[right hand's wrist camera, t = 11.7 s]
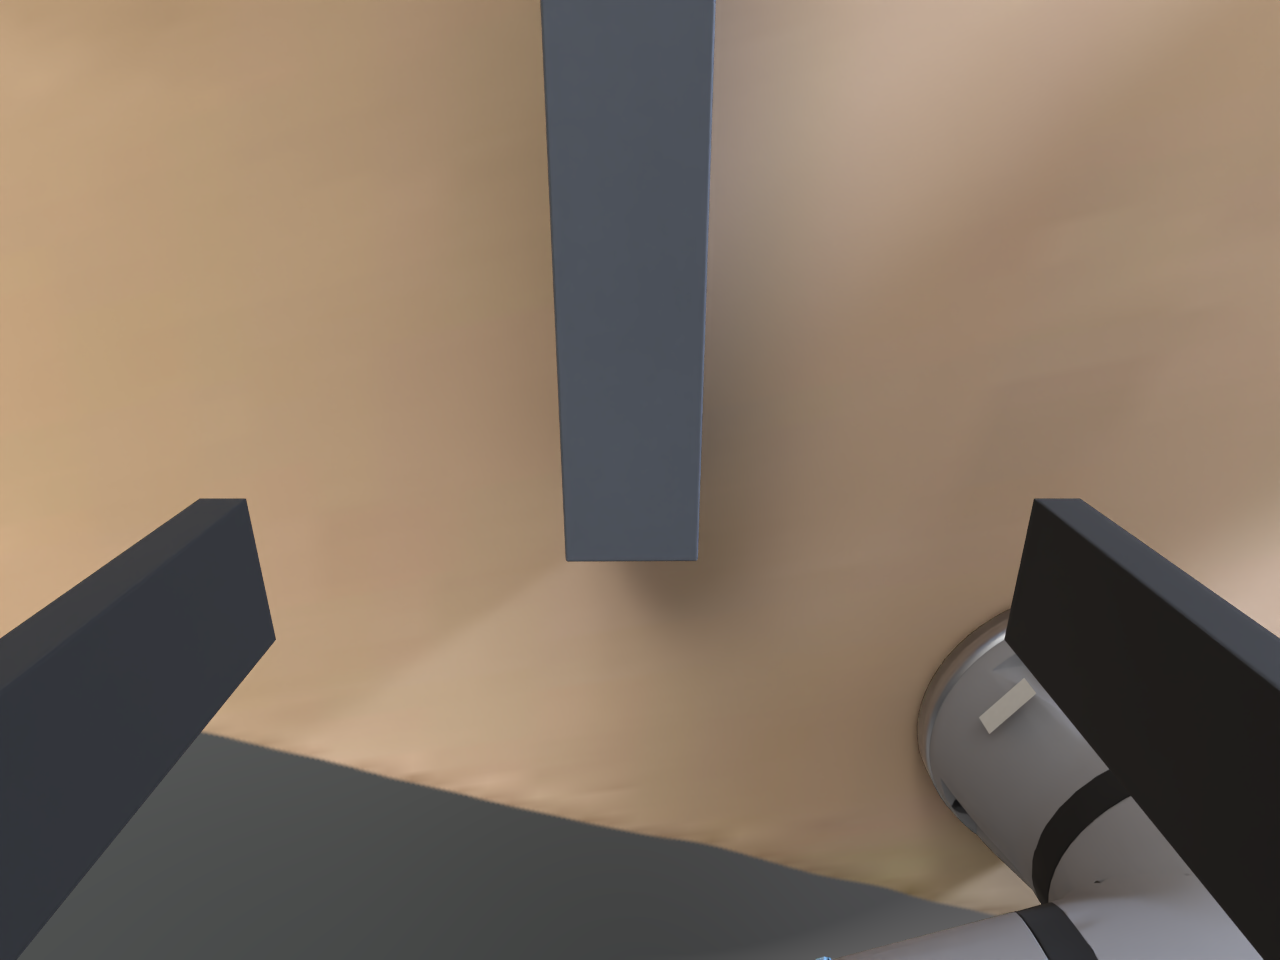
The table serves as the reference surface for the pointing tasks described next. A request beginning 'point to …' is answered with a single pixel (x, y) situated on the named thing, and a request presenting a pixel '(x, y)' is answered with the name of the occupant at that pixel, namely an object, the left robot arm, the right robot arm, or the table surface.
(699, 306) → the post
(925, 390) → the table surface
